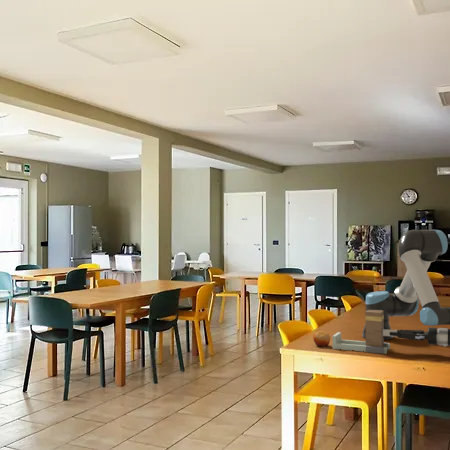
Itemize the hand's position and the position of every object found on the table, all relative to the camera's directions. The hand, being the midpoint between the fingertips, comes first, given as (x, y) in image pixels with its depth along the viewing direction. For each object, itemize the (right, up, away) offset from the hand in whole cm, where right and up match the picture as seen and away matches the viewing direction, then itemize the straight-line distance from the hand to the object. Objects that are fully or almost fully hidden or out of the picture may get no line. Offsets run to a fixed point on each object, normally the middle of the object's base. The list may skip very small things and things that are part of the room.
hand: (382, 332), depth 254 cm
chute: (-9, -8, +4) cm, 13 cm away
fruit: (-26, -9, +11) cm, 30 cm away
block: (-3, -8, +2) cm, 9 cm away
